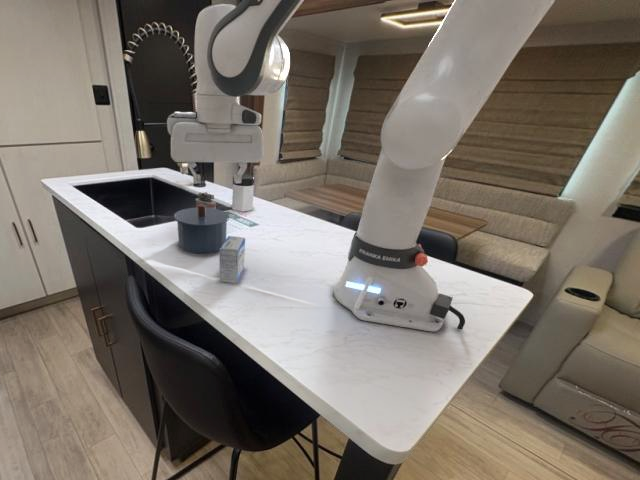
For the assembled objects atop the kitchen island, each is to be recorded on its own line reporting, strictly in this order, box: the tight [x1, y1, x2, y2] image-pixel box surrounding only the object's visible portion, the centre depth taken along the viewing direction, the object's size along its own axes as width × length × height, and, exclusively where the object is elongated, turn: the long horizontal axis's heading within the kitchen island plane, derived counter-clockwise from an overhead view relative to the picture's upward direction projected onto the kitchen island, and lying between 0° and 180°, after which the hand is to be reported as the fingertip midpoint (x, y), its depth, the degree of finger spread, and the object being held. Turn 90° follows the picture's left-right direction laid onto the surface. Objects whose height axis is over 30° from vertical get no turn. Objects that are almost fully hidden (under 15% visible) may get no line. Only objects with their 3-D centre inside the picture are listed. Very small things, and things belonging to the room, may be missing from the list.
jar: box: [231, 174, 255, 213], centre depth 118 cm, size 9×8×12 cm
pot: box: [177, 221, 228, 255], centre depth 87 cm, size 13×14×8 cm
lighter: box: [194, 191, 217, 209], centre depth 103 cm, size 8×3×10 cm, turn 55°
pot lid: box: [173, 204, 230, 227], centre depth 84 cm, size 15×15×4 cm
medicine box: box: [219, 235, 246, 285], centre depth 73 cm, size 8×4×9 cm, turn 168°
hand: (217, 183), depth 71 cm, fingers open, 8 cm apart
